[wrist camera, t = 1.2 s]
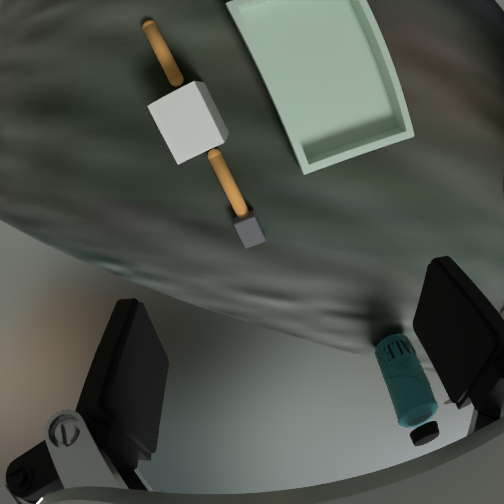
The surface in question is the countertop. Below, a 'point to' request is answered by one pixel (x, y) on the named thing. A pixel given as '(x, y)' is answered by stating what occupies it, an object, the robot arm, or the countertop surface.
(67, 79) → the countertop surface
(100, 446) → the robot arm
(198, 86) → the pale grey cuboid
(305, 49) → the tray
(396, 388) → the beverage bottle
